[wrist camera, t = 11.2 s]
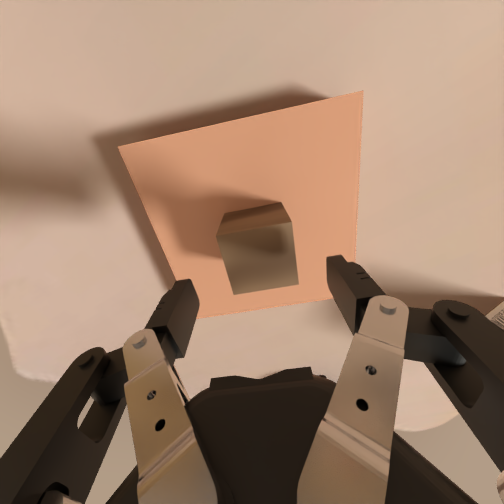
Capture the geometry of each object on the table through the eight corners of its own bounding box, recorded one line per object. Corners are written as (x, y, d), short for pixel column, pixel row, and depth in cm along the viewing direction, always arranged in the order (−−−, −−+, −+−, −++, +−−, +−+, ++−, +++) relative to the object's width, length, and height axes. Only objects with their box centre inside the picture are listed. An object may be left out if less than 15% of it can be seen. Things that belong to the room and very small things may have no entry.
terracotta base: (142, 146, 19) (117, 146, 15) (340, 101, 18) (363, 90, 14) (201, 296, 27) (193, 319, 24) (339, 274, 26) (353, 295, 22)
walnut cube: (224, 213, 18) (215, 236, 14) (281, 202, 18) (291, 221, 13) (237, 261, 20) (233, 295, 16) (288, 253, 20) (298, 284, 15)
